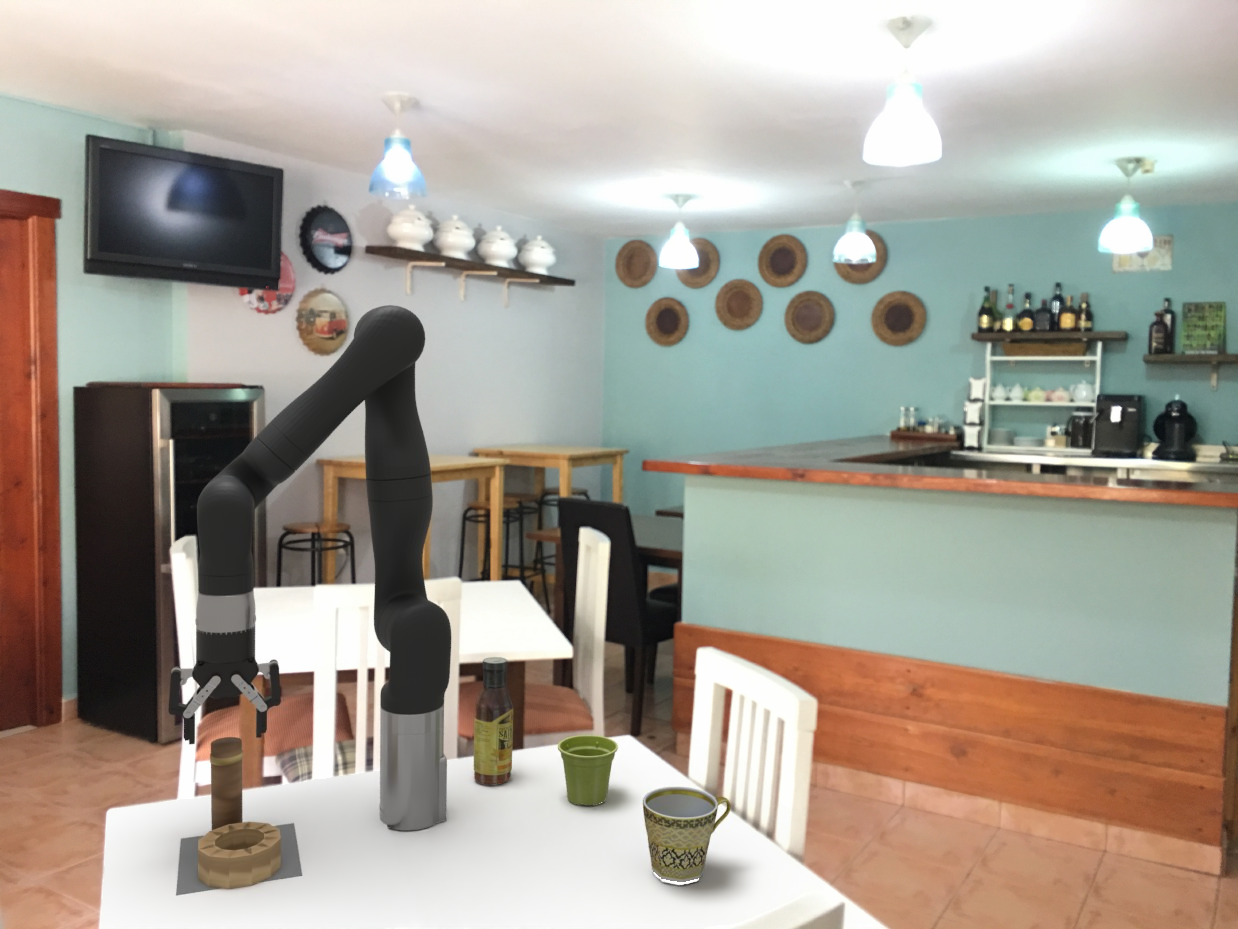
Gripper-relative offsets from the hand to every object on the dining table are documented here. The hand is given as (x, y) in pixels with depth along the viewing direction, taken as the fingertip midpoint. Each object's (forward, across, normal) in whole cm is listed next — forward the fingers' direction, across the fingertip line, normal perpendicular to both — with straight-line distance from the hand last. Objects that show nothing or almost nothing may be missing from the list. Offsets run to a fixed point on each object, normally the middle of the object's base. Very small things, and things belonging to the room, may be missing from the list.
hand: (225, 739), depth 136 cm
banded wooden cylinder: (+14, 0, 0) cm, 15 cm away
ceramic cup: (+15, -58, +28) cm, 66 cm away
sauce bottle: (+15, -41, -10) cm, 45 cm away
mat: (+15, -2, +5) cm, 16 cm away
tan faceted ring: (+14, -2, +9) cm, 17 cm away
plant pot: (+15, -53, +2) cm, 55 cm away
